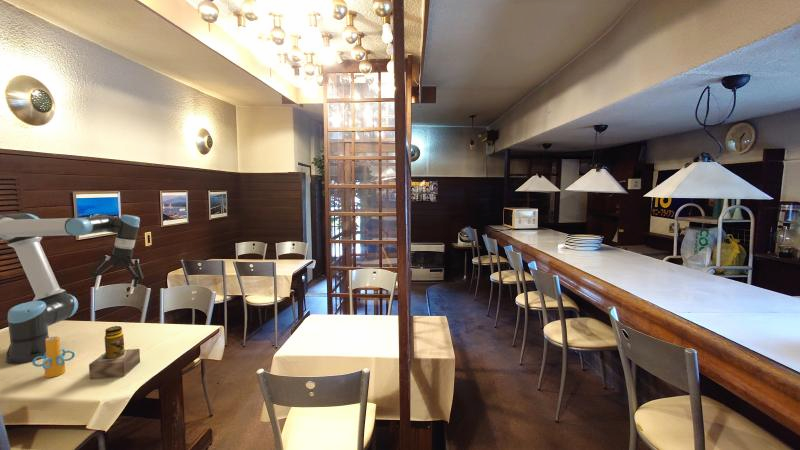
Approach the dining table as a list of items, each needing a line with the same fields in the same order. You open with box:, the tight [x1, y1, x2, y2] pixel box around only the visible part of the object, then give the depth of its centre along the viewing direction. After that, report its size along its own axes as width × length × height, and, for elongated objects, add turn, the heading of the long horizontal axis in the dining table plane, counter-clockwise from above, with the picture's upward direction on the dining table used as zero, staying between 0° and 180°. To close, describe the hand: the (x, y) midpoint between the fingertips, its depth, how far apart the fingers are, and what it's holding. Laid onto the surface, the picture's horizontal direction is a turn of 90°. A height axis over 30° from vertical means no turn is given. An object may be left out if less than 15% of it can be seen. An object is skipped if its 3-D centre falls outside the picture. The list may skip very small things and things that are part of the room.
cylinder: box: [31, 335, 76, 378], centre depth 141 cm, size 12×10×15 cm
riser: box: [88, 348, 141, 380], centre depth 145 cm, size 12×12×6 cm
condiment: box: [98, 325, 128, 362], centre depth 144 cm, size 7×8×12 cm
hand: (113, 291), depth 166 cm, fingers open, 13 cm apart
